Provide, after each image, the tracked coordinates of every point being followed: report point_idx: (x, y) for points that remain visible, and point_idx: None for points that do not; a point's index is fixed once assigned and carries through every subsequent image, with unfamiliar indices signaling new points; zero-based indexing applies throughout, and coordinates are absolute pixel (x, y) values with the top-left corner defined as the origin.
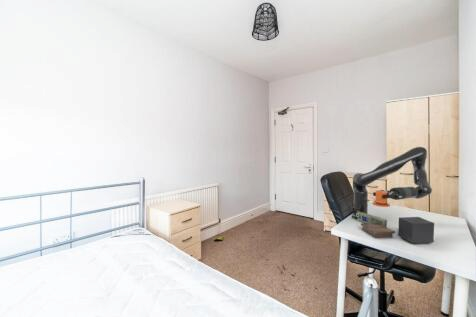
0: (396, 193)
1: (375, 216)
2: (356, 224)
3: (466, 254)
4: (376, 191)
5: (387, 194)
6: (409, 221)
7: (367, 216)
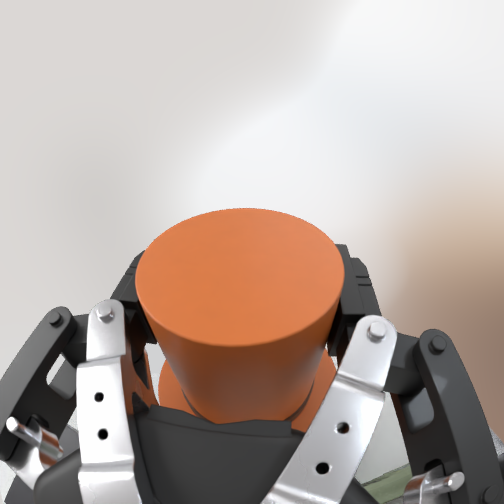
0: (53, 498)
1: (379, 500)
2: (395, 420)
3: (6, 491)
4: (296, 223)
5: (127, 289)
6: (69, 439)
7: (409, 466)
